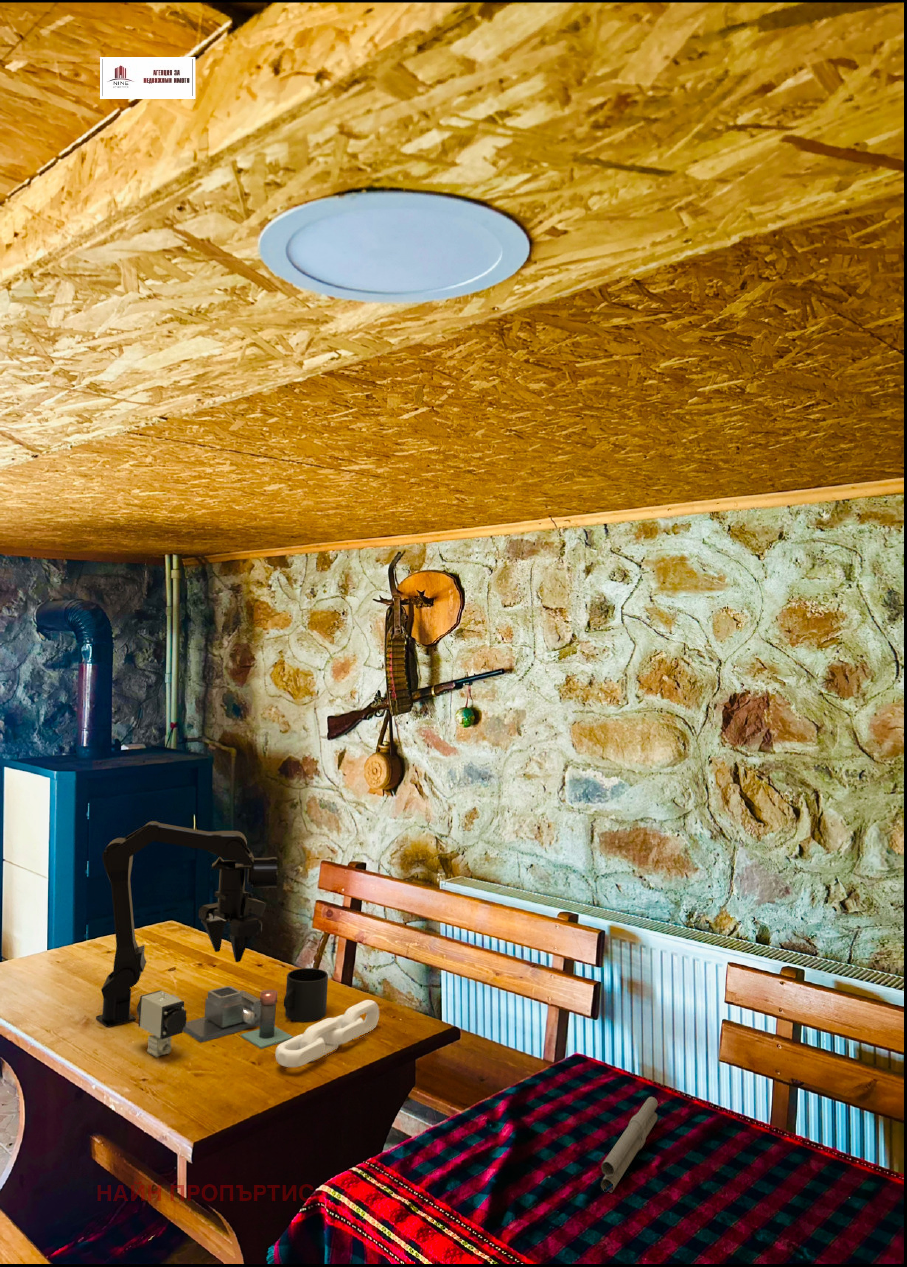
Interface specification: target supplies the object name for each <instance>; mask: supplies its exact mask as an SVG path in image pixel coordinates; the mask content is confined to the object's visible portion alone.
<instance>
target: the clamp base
mask: <svg viewBox="0 0 907 1267" xmlns="http://www.w3.org/2000/svg"><path fill="white" fill-rule="evenodd" d="M240 991H241V992H242V1001H241V1002H242V1003H244V1005H243V1022H241V1023H237V1024H234V1025H230V1026H227V1027H223V1028H222V1027H220V1026H218V1025H217V1024H215V1023H213V1022H212V1021H210V1020H209V1019H207V1018H205V1016H204V1017H200V1018H196V1019H192V1020H189V1021H186V1026H185V1027H184V1028H183V1032H184V1033H185V1034H187V1035H189V1036H190V1037H191V1038H193V1039H195V1040H196V1041H197V1042H199V1043H204V1042H208V1041H211V1040H215V1039H217V1038H221V1037H225V1036H229V1035H231V1034H235V1033H238V1032H242V1031H245V1030H248V1029H252V1028H256V1027H260V1011H261V1003H260V998H259V997H256V996H254V995H253V994H251V993H249V992H247V991H245V990H243V989H242V990H240Z"/></svg>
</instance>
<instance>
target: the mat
mask: <svg viewBox="0 0 907 1267" xmlns="http://www.w3.org/2000/svg"><path fill="white" fill-rule="evenodd" d="M240 1038H242V1039H244V1040H245V1041H247V1042H249V1043H250V1044H252V1045H254V1046H256V1047H257V1048H259V1049H260V1050H261V1049H264V1048H267V1047H271V1046H274V1045H277V1044H278V1045H279V1044H281V1043H283V1042H285V1041H287V1040H289V1039H291V1038H294V1036H293V1035H291V1034H290V1033H287V1032H285V1031H284V1030H282V1029H280V1028H278V1027H277V1026H275V1029H274V1036H273V1037H272V1038H267V1039H265V1038H260V1037H259V1028H258V1029H255V1030H251V1031H248V1032H245V1033H241V1034H240Z"/></svg>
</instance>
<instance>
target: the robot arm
mask: <svg viewBox="0 0 907 1267" xmlns="http://www.w3.org/2000/svg"><path fill="white" fill-rule="evenodd" d="M152 842H157V843H162V844H169V845H175V846H180V847H186V848H193V849H198V850H202V851H203V850H204V851H206V852H209V853H211V854H213V855H215V856H218V858H217V859H216V860H215V861H214V862H213V863H212V864H211V869H212V870H219V880H218V890H217V891H215V892H214V897H216V898H217V902H215V903H208V904H204V905H201V907H200V908H199V909H198V919H200V920H201V924H202V925H203V926H204V929H205V932H206V933H207V935H208V938H209V940H210V943H211V945H212V948H213V950H214V952H215V953H218V952H221V947H222V943H223V942H222V941H223V934H224V927H225V926H226V924H229V930H230V933H229V940H230V943H231V947H232V954H233V958H234V961H235V963H239V962H240V963H241V961H242V959H243V956H244V953H245V950H246V949H247V945H248V943H249V941H250V939H251V938H253V936H256V935H258V934H259V933H262V930H263V922H262V920H260V919H259V918H257V917H255V916H252V915H257V916H258V917H261V918H262V917H263V914H264V912H265V909H266V905H267V903H266V902H264V901H261V900H258V899H256V898H254V897H253V893H251V892H248V891H245V883H246V882H245V881H246V870H247V884H249V885H250V886H252V888H253V889H254V888H255V889H256V888H258V889H259V888H278V876H279V875H278V858H277V856H271V857H255V856H254V855H253V852H252V851H250V849H249V847H248V846H247V844H248V841H247V838H246V836H245V835H244V833H243V832H241V831H238V830H219V831H218V830H216V831H206V830H201V829H195V828H190V827H184V826H177V825H174V824H173V825H171V824H166V823H161V822H158V821H157V820H154V821H153V820H152V821H149V822H147V823H146V824H145V825H144V826H142V827H140V828H138V829H137V830H135V831H133V832H132V833H130V834H129V835H127V836H125V837H117V838H115V839H112V841H110V842H109V844H108V845H107V846H106V847H105V849H104V850H103V853H102V857H101V858H102V862H103V866H104V870H105V872H106V874H107V877H108V880H109V882H110V884H111V896H112V909H113V919H114V920H113V922H114V934H115V944H116V945H115V946H116V947H115V954H114V960H113V970H112V971H111V972H110V973H109V974H108V975H107V976H106V978H105V981H104V983H103V985H102V987H101V994H102V997H103V999H102V1000H103V1001H102V1014H99V1015H96V1016H95V1019H96V1020H97V1021H99V1022H100V1023H102V1024H103V1025H104V1026H105V1027H108V1028H109V1027H113V1026H118V1025H121V1024H125V1023H129V1022H134V1021H136V1016H134V1015H133V1014H132V1013H131V1001H132V999H131V998H132V989H131V988H133V987H134V986H135V985H137V983H139V981H140V978H141V976H142V973H143V972H144V970H145V967H146V964H147V960H146V958H145V950H146V949H145V947H146V945H138V942H137V940H136V933H135V922H134V910H133V899H132V898H133V897H132V888H131V887H132V886H131V884H132V883H131V874H132V867H133V859H134V855H135V854H137V853H138V852H139V851H141V850H142V849H144V848H145V847H146V846H148V845H150V844H151V843H152ZM224 859H226V860H224ZM236 861H237V862H238V863H237V862H236ZM249 914H252V915H250V916H249Z"/></svg>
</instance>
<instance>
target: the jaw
mask: <svg viewBox="0 0 907 1267" xmlns="http://www.w3.org/2000/svg"><path fill="white" fill-rule="evenodd" d="M241 1001H242V992H241V990H239V989H238V988H235V987H233V986H232V985H228V986H226V985H225V986H223V987H217V988H214V989H210V990H208V991H207V998H205V1001H204V1002H205V1003H204V1004H205V1005H204V1006H205V1007H204V1017H205V1018H207V1019H209V1020H210V1021H212V1022H213V1023H215V1024H217V1025H218V1026H220V1027H222V1028H223V1027H227V1026H230V1025H234V1024H237V1023H241V1022H243V1005H244V1003H242V1002H241Z"/></svg>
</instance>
